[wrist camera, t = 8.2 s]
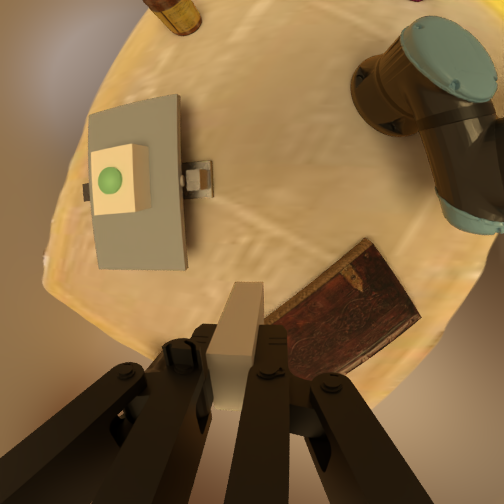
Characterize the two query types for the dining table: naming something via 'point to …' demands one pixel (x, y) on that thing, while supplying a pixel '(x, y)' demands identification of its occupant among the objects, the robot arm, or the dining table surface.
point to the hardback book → (344, 315)
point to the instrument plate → (167, 194)
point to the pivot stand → (187, 181)
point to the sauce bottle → (176, 15)
